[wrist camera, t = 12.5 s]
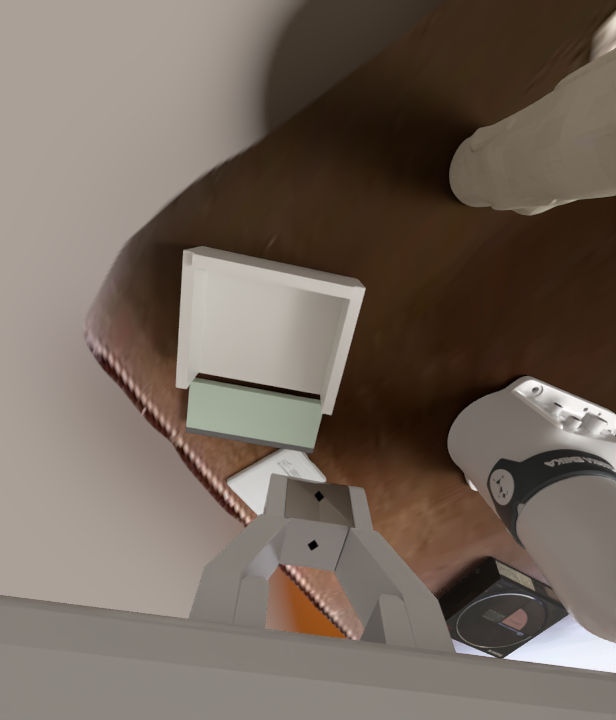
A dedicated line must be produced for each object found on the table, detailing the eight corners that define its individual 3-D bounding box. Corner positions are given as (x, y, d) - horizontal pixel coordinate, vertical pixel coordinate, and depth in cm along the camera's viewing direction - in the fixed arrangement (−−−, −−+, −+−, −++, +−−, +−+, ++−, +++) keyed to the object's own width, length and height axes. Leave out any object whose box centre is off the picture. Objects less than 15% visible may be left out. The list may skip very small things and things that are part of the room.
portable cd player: (557, 586, 60) (574, 610, 56) (490, 634, 66) (501, 659, 62) (491, 553, 57) (503, 576, 53) (426, 606, 62) (433, 630, 59)
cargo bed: (357, 278, 39) (367, 290, 32) (328, 390, 44) (331, 419, 38) (202, 246, 37) (179, 251, 31) (192, 365, 43) (172, 391, 36)
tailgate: (324, 405, 43) (312, 453, 45) (324, 400, 44) (312, 447, 47) (189, 381, 41) (185, 432, 44) (193, 376, 43) (188, 426, 45)
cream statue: (515, 106, 32) (1787, -603, 4) (533, 194, 35) (1367, 93, 7) (430, 151, 34) (995, -176, 6) (454, 232, 37) (906, 265, 9)
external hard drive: (228, 475, 51) (294, 437, 48) (261, 509, 53) (325, 475, 50) (225, 483, 49) (294, 445, 46) (259, 517, 52) (326, 483, 49)
